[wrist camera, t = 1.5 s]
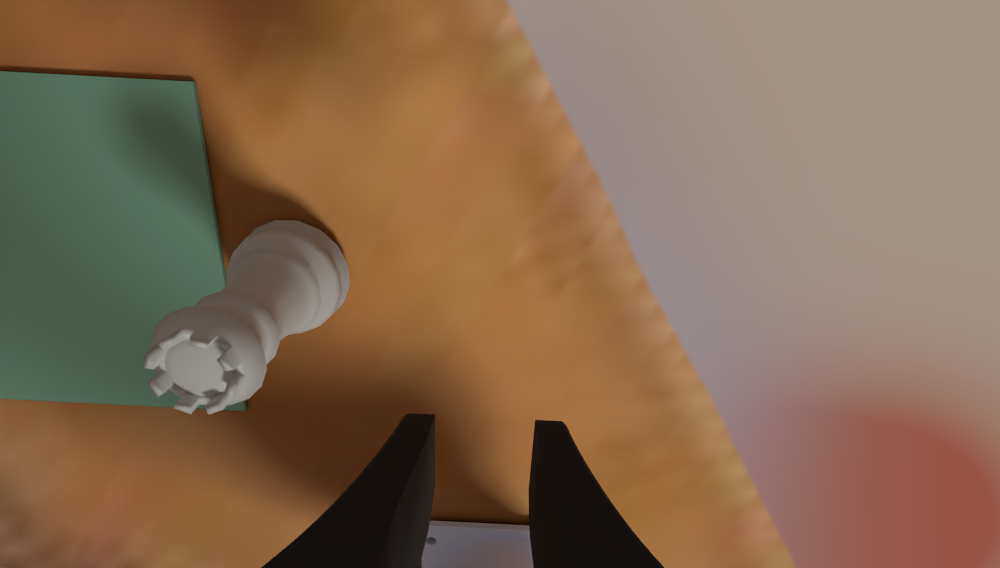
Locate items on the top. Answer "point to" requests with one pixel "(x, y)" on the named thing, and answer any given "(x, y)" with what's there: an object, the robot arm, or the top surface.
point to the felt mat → (99, 232)
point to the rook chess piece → (248, 316)
